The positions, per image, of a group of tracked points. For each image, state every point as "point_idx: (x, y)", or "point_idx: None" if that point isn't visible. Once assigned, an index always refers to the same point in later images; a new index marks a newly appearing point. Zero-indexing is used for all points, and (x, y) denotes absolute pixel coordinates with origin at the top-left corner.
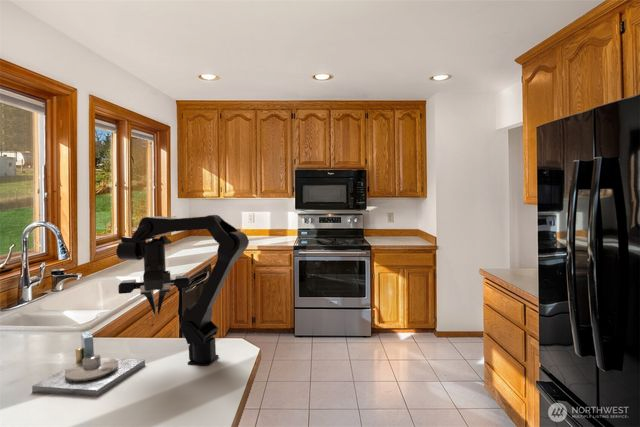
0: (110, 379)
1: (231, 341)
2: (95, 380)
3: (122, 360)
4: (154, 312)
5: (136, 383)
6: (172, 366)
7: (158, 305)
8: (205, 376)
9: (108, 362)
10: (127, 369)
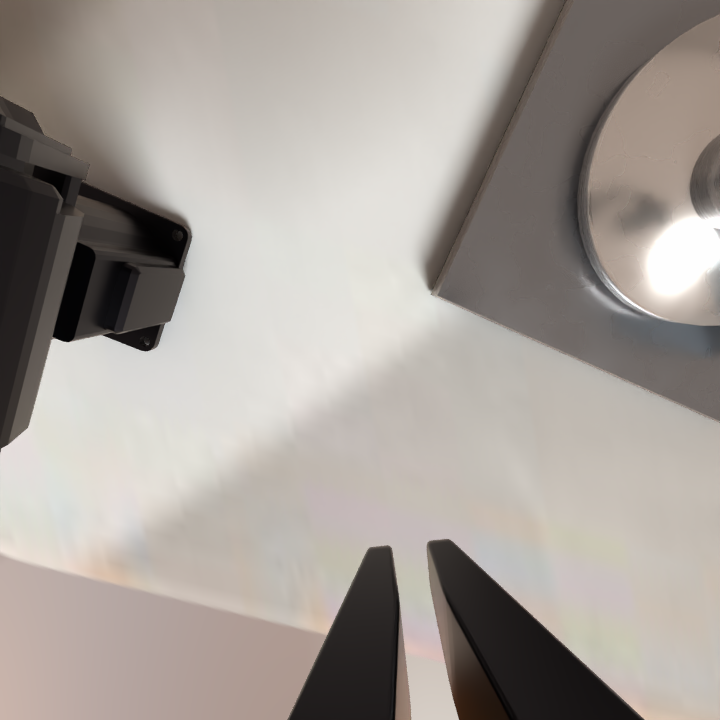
0: (591, 13)
1: (13, 520)
2: (676, 27)
3: (563, 324)
4: (448, 554)
5: (434, 38)
6: (277, 238)
7: (381, 672)
8: (47, 12)
9: (649, 230)
10: (514, 160)
